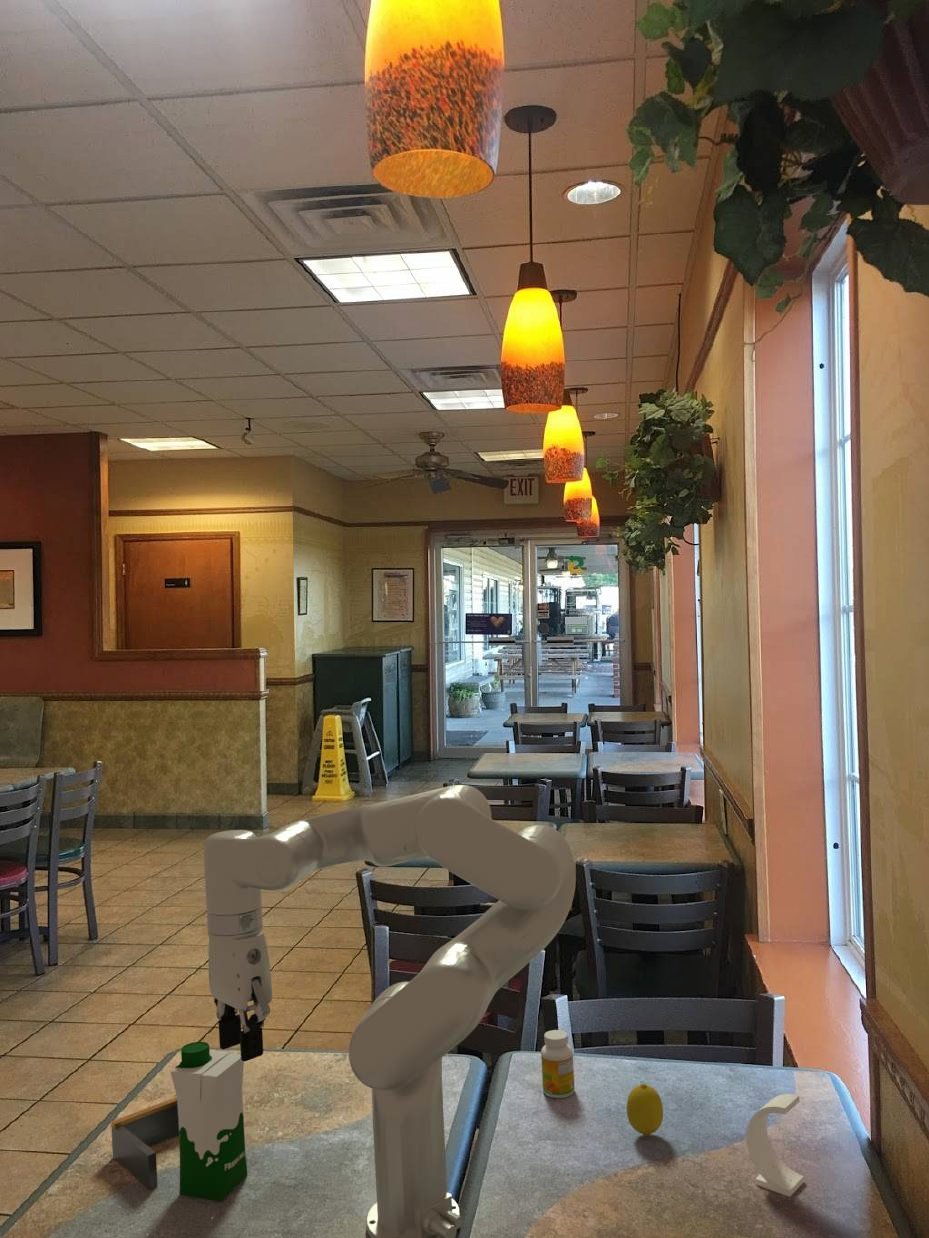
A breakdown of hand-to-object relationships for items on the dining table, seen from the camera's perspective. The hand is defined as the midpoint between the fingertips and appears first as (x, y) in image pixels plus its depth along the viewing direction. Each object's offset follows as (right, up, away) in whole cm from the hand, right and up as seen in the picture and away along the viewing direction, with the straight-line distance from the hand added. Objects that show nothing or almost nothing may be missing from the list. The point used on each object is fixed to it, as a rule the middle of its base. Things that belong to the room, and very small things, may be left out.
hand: (241, 1050), depth 138 cm
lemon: (+59, -20, +15) cm, 64 cm away
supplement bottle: (+47, -21, +31) cm, 60 cm away
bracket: (-14, -23, +16) cm, 31 cm away
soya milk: (-6, -23, +7) cm, 25 cm away
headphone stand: (+75, -19, 0) cm, 77 cm away
